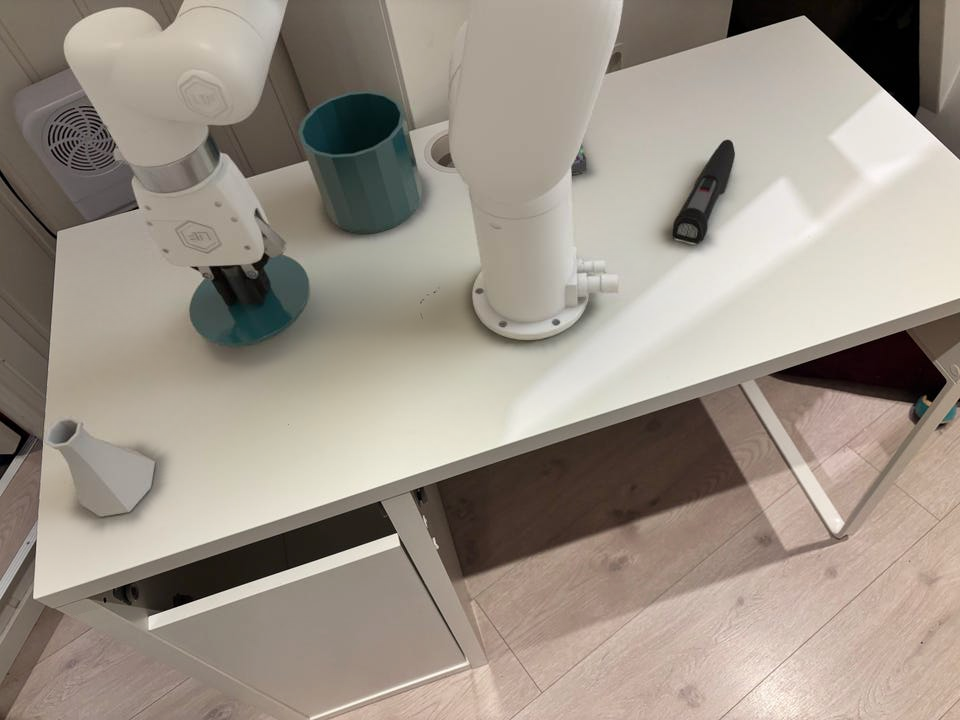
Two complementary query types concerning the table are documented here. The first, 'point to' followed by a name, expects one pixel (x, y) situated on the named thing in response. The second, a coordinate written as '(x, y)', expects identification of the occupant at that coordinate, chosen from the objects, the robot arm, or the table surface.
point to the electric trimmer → (704, 196)
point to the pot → (362, 161)
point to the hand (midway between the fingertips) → (248, 294)
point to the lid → (250, 305)
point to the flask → (101, 468)
